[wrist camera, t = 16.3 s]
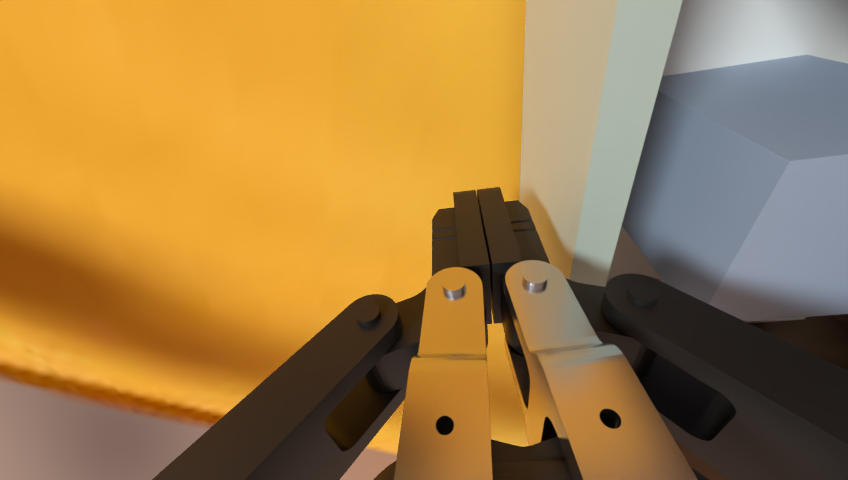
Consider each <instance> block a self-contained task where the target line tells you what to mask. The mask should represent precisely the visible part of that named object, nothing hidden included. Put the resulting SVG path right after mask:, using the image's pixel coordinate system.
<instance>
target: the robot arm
mask: <svg viewBox="0 0 848 480" xmlns="http://www.w3.org/2000/svg"><path fill="white" fill-rule="evenodd" d="M453 196H454V207H455V208H446V209H439V210H438V211H437V213H436V214H435V216H434V218H433V219H432V231H433V232H432V240H433V241H432V277H431V278H430V280H429V281H428V283H427V287H426V288H425V289H424V290H423V291H422V292H421V293H419V294H418V295H416V296H414V297H412V298H409V299H406V300H404V301H401V302H398V303H395V302H394V301H393V300H392V299H391V298H389V297H387V296H384V295H379V294H373V295H367V296H364V297H362V298H359V299H357V300H356V301H354V302H353V303H352V304H350V305H349V306H348V307H347V308H346V309H345V310H344V311H342V312H341V313H340V314H339V315H338V316H337V317H336V318H334V319H333V320H332V321H331V322H330V323H329V324H328V325H327V326H325V327H324V328H323V329H322V330H321V331H320V332H319V333H317V334H316V335H315V336H314V337H313V338H312V339H311V340H310V341H308V342H307V343H306V344H305V345H304V346H303V347H302V348H301V349H299V350H298V351H297V352H296V353H295V354H294V355H293V356H291V357H290V358H289V359H288V360H287V361H286V362H285V363H284V364H282V365H281V366H280V367H279V368H278V369H277V370H276V371H275V372H273V373H272V374H271V375H270V376H269V377H268V378H267V379H265V380H264V381H263V382H262V383H261V384H260V385H259V386H258V387H256V388H255V389H254V390H253V391H252V392H251V393H250V394H248V395H247V396H246V397H245V398H244V399H243V400H242V401H241V402H239V403H238V404H237V405H236V406H235V407H234V408H233V409H232V410H230V411H229V412H228V413H227V414H226V415H225V416H224V417H222V418H221V419H220V420H219V421H218V422H217V423H216V424H215V425H213V426H212V427H211V428H210V429H209V430H208V431H207V432H206V433H204V434H203V435H202V436H201V437H200V438H199V439H198V440H196V442H195V443H193V444H192V445H191V446H190V447H189V448H187V449H186V450H185V451H184V452H183V453H182V454H181V455H180V456H178V457H177V458H176V459H175V460H174V461H173V462H172V463H170V464H169V465H168V466H167V467H166V468H165V469H164V470H163V471H161V472H160V473H159V474H158V475H157V476H156V477H155V478H154V479H153V480H340V478H341V477H342V476H343V475H344V473H345V472H346V471H347V470H348V468H349V467H350V466H351V465H352V463H353V462H354V461H355V460H356V459H357V457H358V456H359V455H360V454H361V452H362V451H363V450H364V449H365V447H366V446H367V445H368V444H369V442H370V441H371V440H372V439H373V438H374V436H375V435H376V434H377V433H378V431H379V430H380V429H381V428H382V426H383V425H384V424H385V423H386V421H387V420H388V419H389V418H390V416H391V415H392V414H393V413H394V412H395V410H396V409H397V408H398V407H399V405H400V404H401V403H402V402H403V400H404V399H405V403H404V410H403V417H402V424H401V431H400V439H399V446H398V453H397V460H396V461H395V462H394V463H392V464H391V465H389V466H388V467H387V468H385V470H383V471H382V472H381V473H380V474H379V475H378V476H377V477H376V478H375V479H374V480H709V479H708V478H706V477H705V476H704V475H702V474H701V473H699V472H698V471H696V470H695V469H693V468H692V467H690V466H689V464H688V462H687V461H686V459H685V457H684V456H683V454H682V452H681V450H680V449H679V447H678V445H677V444H676V442H675V440H677V441H678V442H679V443H681V444H682V445H683V446H685V447H686V448H687V449H689V450H690V451H691V452H693V453H694V454H695V455H696V456H698V457H699V458H700V459H702V460H703V461H704V462H706V463H707V464H708V465H710V466H711V467H712V468H714V469H715V470H716V471H718V472H719V473H720V474H722V475H723V476H724V477H726V478H727V479H728V480H848V371H847V370H845V369H843V368H841V367H839V366H837V365H835V364H833V363H831V362H828V361H826V360H824V359H822V358H820V357H818V356H816V355H814V354H812V353H810V352H808V351H805V350H803V349H801V348H799V347H797V346H795V345H793V344H791V343H789V342H787V341H785V340H782V339H780V338H778V337H776V336H774V335H772V334H770V333H768V332H766V331H764V330H762V329H759V328H757V327H755V326H753V325H751V324H749V323H747V322H745V321H743V320H741V319H739V318H737V317H734V316H732V315H730V314H728V313H726V312H724V311H722V310H720V309H718V308H716V307H714V306H711V305H709V304H707V303H705V302H703V301H701V300H699V299H697V298H695V297H693V296H691V295H688V294H686V293H684V292H682V291H680V290H678V289H676V288H674V287H672V286H670V285H668V284H665V283H663V282H661V281H659V280H657V279H655V278H652V277H649V276H646V275H641V274H621V275H618V276H615V277H613V278H612V279H610V280H609V282H608V283H607V285H606V287H603V286H596V285H589V284H583V283H578V282H575V281H572V280H569V279H567V278H565V277H564V275H563V274H562V272H561V271H560V270H559V269H558V268H556V267H555V266H553V265H551V264H550V262H549V260H548V257H547V255H546V252H545V250H544V247H543V245H542V242H541V240H540V237H539V235H538V232H537V230H536V227H535V225H534V222H533V221H532V217H531V215H530V212H529V210H528V208H527V207H525V206H524V205H523V204H522V203H520V202H519V201H518V200H517V201H508V202H504V199H503V196H502V192H501V189H500V187H496V188H487V189H479V190H477V196H476V191H475V190H471V191H462V192H454V193H453ZM491 309H492V314H493V320H494V323H503V327H504V332H505V349H506V353H507V356H508V360H509V363H510V367H511V371H512V374H513V378H514V381H515V385H516V389H517V392H518V396H519V399H520V403H521V406H522V410H523V414H524V419H525V425H526V433H527V439H528V444H529V446H527V447H520V446H515V445H511V444H507V443H503V442H499V441H495V440H491V430H490V412H489V393H488V374H487V356H486V347H487V345H488V329H487V324H492V316H491ZM658 354H659V355H658ZM663 357H664V358H663ZM666 359H667V360H666ZM668 360H669V361H668ZM671 362H672V363H671ZM676 365H677V366H676ZM679 367H680V368H679ZM684 370H685V371H684ZM687 372H688V373H687ZM689 373H690V374H689ZM692 375H693V376H692ZM695 377H696V378H695ZM697 378H698V379H697ZM700 380H701V381H700ZM705 383H706V384H705ZM708 385H709V386H708ZM710 386H711V387H710ZM713 388H714V389H713ZM718 391H719V392H718ZM673 438H674V439H675V440H674V439H673Z"/></svg>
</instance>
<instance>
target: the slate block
mask: <svg viewBox="0 0 848 480" xmlns="http://www.w3.org/2000/svg"><path fill="white" fill-rule="evenodd" d="M622 226H623V228H624V229H625V230H626V232H627V233H628V234H629V236H630V237H631V238H632V240H633V241H634V242H635V244H636V245H637V247H638V248H639V249H640V251H641V252H642V253H643V255H644V256H645V257H646V259H647V260H648V261H649V263H650V264H651V265H652V267H653V268H654V269H655V271H656V272H657V273H658V275H659V276H660V277H661V279H662V280H663V281H664V283H665V284H668V285H670V286H672V287H674V288H676V289H678V290H680V291H682V292H684V293H686V294H688V295H691V296H693V297H695V298H697V299H699V300H701V301H703V302H705V303H707V304H709V305H711V306H714V307H716V308H718V309H720V310H722V311H724V312H726V313H728V314H730V315H732V316H734V317H737V318H739V319H741V320H743V321H758V320H772V319H785V318H799V317H812V316H826V315H839V314H848V64H847V63H843V62H838V61H834V60H829V59H825V58H820V57H816V56H811V55H800V56H794V57H787V58H780V59H774V60H767V61H760V62H754V63H747V64H741V65H734V66H727V67H721V68H714V69H707V70H701V71H694V72H688V73H681V74H674V75H668V76H662V79H661V82H660V86H659V90H658V93H657V97H656V101H655V104H654V108H653V112H652V115H651V119H650V123H649V126H648V130H647V134H646V138H645V141H644V145H643V149H642V152H641V156H640V160H639V163H638V167H637V171H636V174H635V178H634V182H633V185H632V189H631V193H630V197H629V200H628V204H627V208H626V211H625V215H624V219H623V222H622Z"/></svg>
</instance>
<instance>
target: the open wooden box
mask: <svg viewBox="0 0 848 480" xmlns="http://www.w3.org/2000/svg"><path fill="white" fill-rule="evenodd" d="M749 324H751V325H753V326H755V327H757V328H759V329H762V330H764V331H766V332H768V333H770V334H772V335H774V336H776V337H778V338H780V339H782V340H785V341H787V342H789V343H791V344H793V345H795V346H797V347H799V348H801V349H803V350H805V351H808V352H810V353H812V354H814V355H816V356H818V357H820V358H822V359H824V360H826V361H828V362H831V363H833V364H835V365H837V366H839V367H841V368H843V369H845V370H847V371H848V314H839V315H826V316H812V317H806V318H805V319H803V320H789V321H775V322H761V323H749ZM658 355H659V354H658ZM663 358H664V357H663ZM666 360H667V359H666ZM668 361H669V360H668ZM671 363H672V362H671ZM676 366H677V365H676ZM679 368H680V367H679ZM684 371H685V370H684ZM687 373H688V372H687ZM689 374H690V373H689ZM692 376H693V375H692ZM695 378H696V377H695ZM697 379H698V378H697ZM700 381H701V380H700ZM705 384H706V383H705ZM708 386H709V385H708ZM710 387H711V386H710ZM713 389H714V388H713ZM718 392H719V391H718ZM673 439H674V438H673ZM674 440H675V439H674ZM675 442H676V444H677V445H678V447H679V449H680V450H681V452H682V454H683V456H684V457H685V459H686V461H687V462H688V464H689V466H690V467H692V468H693V469H695V470H696V471H698V472H699V473H701V474H702V475H704V476H705V477H706V478H708V479H709V480H728V479H727V478H726V477H724V476H723V475H722V474H720V473H719V472H718V471H716V470H715V469H714V468H712V467H711V466H710V465H708V464H707V463H706V462H704V461H703V460H702V459H700V458H699V457H698V456H696V455H695V454H694V453H693V452H691V451H690V450H689V449H687V448H686V447H685V446H683V445H682V444H681V443H679V442H678V441H677V440H675Z"/></svg>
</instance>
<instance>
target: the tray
mask: <svg viewBox="0 0 848 480" xmlns="http://www.w3.org/2000/svg"><path fill="white" fill-rule="evenodd" d="M800 55H811V56H816V57H820V58H825V59H829V60H834V61H838V62H843V63H847V64H848V0H526V19H525V49H524V79H523V110H522V140H521V170H520V200H519V202H520V203H522V204H523V205H524V206H525V207H527V208H528V210H529V212H530V215H531V217H532V221H533V222H534V225H535V227H536V230H537V232H538V235H539V237H540V240H541V242H542V245H543V247H544V250H545V252H546V255H547V257H548V260H549V262H550V264H551V265H553V266H555V267H556V268H558V269H559V270H560V271H561V272H562V274H563V275H564V277H565V278H567V279H569V280H572V281H575V282H578V283H583V284H589V285H596V286H603V287H606V285H607V283H608V282H609V280H610V279H612V278H613V277H615V276H618V275H621V274H641V275H646V276H649V277H652V278H655V279H657V280H659V281H661V282H663V283H664V281H663V280H662V279H661V277H660V276H659V275H658V273H657V272H656V271H655V269H654V268H653V267H652V265H651V264H650V263H649V261H648V260H647V259H646V257H645V256H644V255H643V253H642V252H641V251H640V249H639V248H638V247H637V245H636V244H635V242H634V241H633V240H632V238H631V237H630V236H629V234H628V233H627V232H626V230H625V229H624V228H623V226H622V222H623V219H624V215H625V211H626V208H627V204H628V200H629V197H630V193H631V189H632V185H633V182H634V178H635V174H636V171H637V167H638V163H639V160H640V156H641V152H642V149H643V145H644V141H645V138H646V134H647V130H648V126H649V123H650V119H651V115H652V112H653V108H654V104H655V101H656V97H657V93H658V90H659V86H660V82H661V79H662V76H668V75H674V74H681V73H688V72H694V71H701V70H707V69H714V68H721V67H727V66H734V65H741V64H747V63H754V62H760V61H767V60H774V59H780V58H787V57H794V56H800ZM805 318H806V317H799V318H785V319H772V320H758V321H745V322H747V323H761V322H775V321H789V320H803V319H805Z"/></svg>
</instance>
